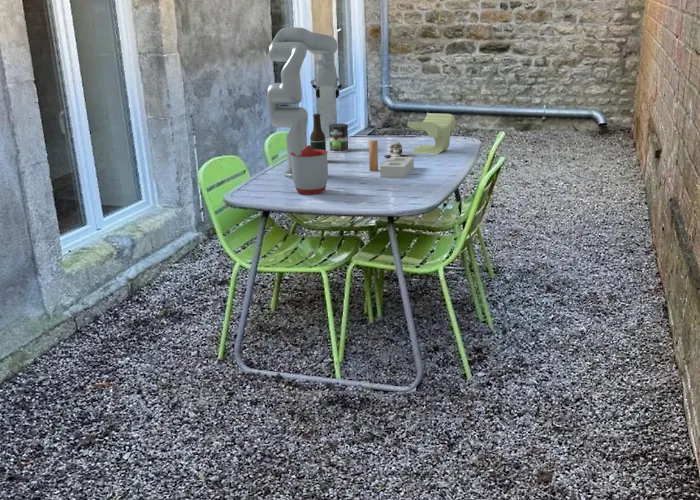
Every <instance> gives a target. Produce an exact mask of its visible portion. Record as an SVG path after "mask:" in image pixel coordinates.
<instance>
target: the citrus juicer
mask: <svg viewBox="0 0 700 500" xmlns="http://www.w3.org/2000/svg"><path fill="white" fill-rule="evenodd" d="M328 153H329V152H328V150H327V149H326V150H322V149H313V148H312V147H311V146H310V144H309V145H308V144H307V147H306V148H305V149H304V150H301V155H299V156H295V153H293V152H291V163H292V175H293V177H292V179H293V183H294V186H295V187H294V188H295V189H296V191H297V193H298V194H301V195H310V196H312V195H315V194H316V195H317V194H321V193H323V192H325V191H326V188H327V183H328V178H329V177H328V175H329V166H328Z"/></svg>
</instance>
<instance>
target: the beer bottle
mask: <svg viewBox="0 0 700 500" xmlns="http://www.w3.org/2000/svg"><path fill="white" fill-rule="evenodd" d="M312 117H313V129H312V132H311V134H310V136H309V137H310V138H309V143H310V144H309V145H310V146H311V147H312V148H313V149H322V150H326V151H327V148H326V147H327V145H326V143H327V142H326V135H325V133H324V132H323V130H322V126H321V125H322V124H321V114H319V113H314V114H313V115H312Z"/></svg>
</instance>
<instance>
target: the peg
mask: <svg viewBox="0 0 700 500" xmlns="http://www.w3.org/2000/svg"><path fill="white" fill-rule="evenodd" d="M378 146H379V144H378V140H369V141H368V154H369V155H368V156H369V157H368V159H369V160H368V161H369V171H370V172H377V171H379V161H378V160H379V156H378V153H379V151H378V150H379V147H378Z"/></svg>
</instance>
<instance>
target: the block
mask: <svg viewBox="0 0 700 500" xmlns="http://www.w3.org/2000/svg"><path fill="white" fill-rule="evenodd" d="M414 158H415V157H413V156H406V157H388V159H387V160H385V162H383V163H382V164H381V165H380V168H379V169H380V172H379V173H380V178H399V179H401V178H402V179H405V178H406V176H408V174H409V173H410V172H411V171H412V170H413V169H414V168H415V162H414V161H415V160H414Z"/></svg>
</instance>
